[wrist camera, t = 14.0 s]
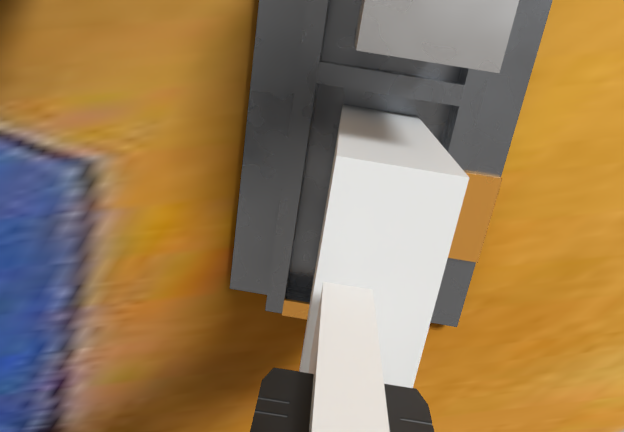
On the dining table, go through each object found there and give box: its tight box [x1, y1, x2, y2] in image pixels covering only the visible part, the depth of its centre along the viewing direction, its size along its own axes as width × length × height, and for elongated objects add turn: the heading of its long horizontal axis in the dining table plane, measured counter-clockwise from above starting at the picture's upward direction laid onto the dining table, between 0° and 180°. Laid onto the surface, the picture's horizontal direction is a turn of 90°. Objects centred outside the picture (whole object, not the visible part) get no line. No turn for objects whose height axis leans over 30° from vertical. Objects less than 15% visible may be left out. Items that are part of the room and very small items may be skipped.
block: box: [299, 105, 469, 388], centre depth 22 cm, size 4×10×12 cm, turn 172°
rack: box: [230, 0, 552, 327], centre depth 20 cm, size 14×27×13 cm, turn 172°
